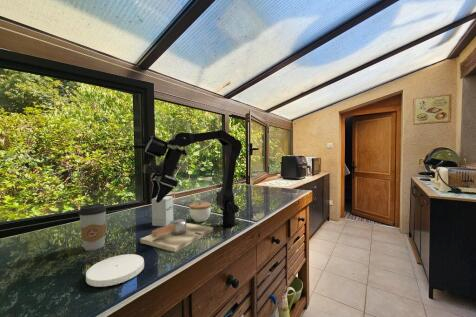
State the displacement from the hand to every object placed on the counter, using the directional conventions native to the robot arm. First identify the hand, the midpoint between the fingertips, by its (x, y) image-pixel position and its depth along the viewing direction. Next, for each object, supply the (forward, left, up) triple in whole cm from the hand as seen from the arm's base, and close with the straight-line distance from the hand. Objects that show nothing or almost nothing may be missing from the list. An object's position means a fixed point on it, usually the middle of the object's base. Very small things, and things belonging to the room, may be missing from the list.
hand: (154, 200), depth 82 cm
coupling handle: (-3, +4, -14) cm, 15 cm away
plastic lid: (+21, +8, -16) cm, 28 cm away
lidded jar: (-28, -2, -16) cm, 33 cm away
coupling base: (-7, +4, -16) cm, 18 cm away
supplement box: (-16, -15, -16) cm, 27 cm away
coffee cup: (+14, -17, -16) cm, 27 cm away
